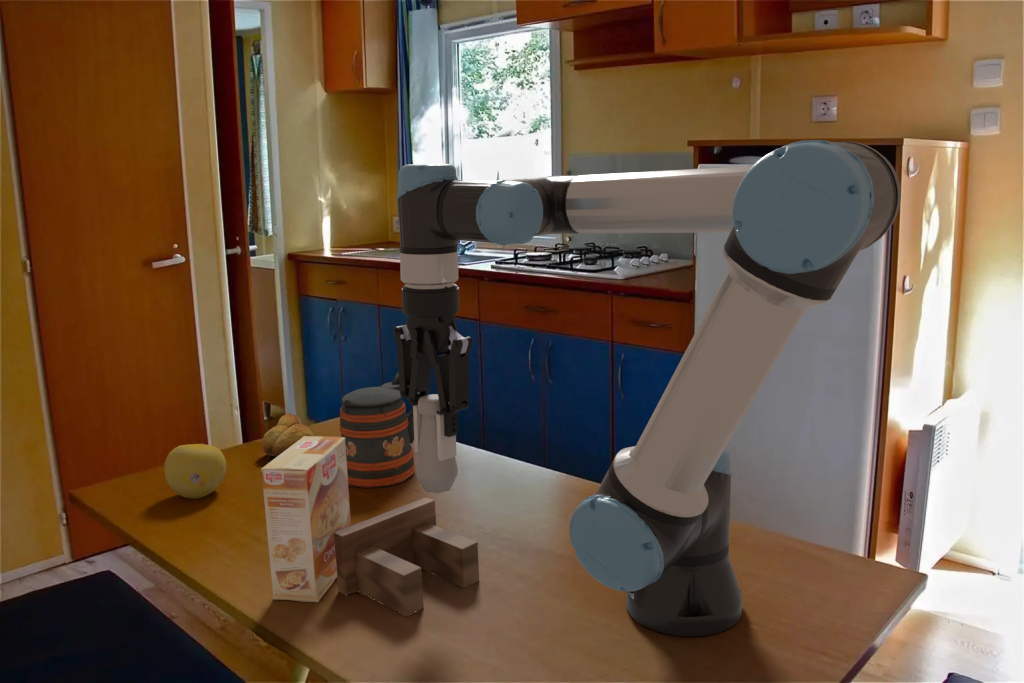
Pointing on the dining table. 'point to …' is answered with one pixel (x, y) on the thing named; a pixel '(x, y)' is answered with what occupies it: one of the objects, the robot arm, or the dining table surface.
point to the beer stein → (377, 436)
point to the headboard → (402, 556)
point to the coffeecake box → (305, 516)
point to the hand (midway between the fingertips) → (435, 453)
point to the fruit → (195, 470)
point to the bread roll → (284, 435)
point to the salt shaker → (432, 451)
